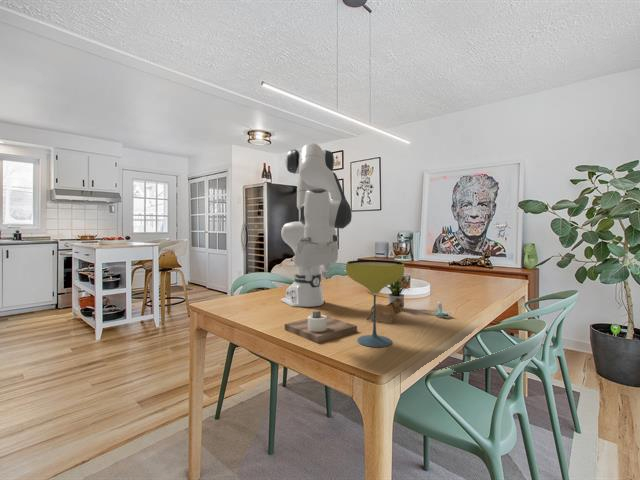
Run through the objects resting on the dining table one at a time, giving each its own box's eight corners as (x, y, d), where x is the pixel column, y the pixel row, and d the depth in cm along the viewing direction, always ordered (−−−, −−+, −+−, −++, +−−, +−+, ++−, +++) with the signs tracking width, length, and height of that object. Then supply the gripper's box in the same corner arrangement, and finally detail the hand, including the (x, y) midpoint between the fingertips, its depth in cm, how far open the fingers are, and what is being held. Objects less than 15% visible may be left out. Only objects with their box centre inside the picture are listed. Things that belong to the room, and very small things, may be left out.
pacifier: (447, 314, 137) (432, 314, 137) (447, 299, 137) (433, 299, 137) (453, 319, 130) (437, 318, 130) (453, 303, 129) (438, 303, 130)
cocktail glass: (414, 341, 104) (415, 262, 103) (382, 357, 91) (383, 267, 90) (368, 329, 117) (368, 258, 116) (334, 341, 104) (334, 262, 103)
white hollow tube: (304, 330, 109) (304, 317, 109) (313, 325, 114) (313, 313, 114) (321, 332, 106) (321, 319, 106) (330, 327, 111) (329, 314, 111)
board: (284, 329, 116) (284, 307, 116) (323, 320, 128) (323, 299, 127) (317, 343, 102) (317, 317, 102) (357, 331, 114) (357, 308, 113)
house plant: (413, 314, 136) (413, 275, 135) (379, 312, 140) (379, 274, 139) (413, 306, 149) (413, 271, 149) (382, 304, 153) (382, 270, 153)
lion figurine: (401, 318, 130) (401, 296, 129) (406, 322, 124) (406, 299, 124) (365, 319, 129) (365, 296, 128) (367, 323, 123) (368, 299, 123)
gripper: (305, 238, 99) (305, 284, 99) (341, 236, 115) (341, 275, 116) (289, 238, 102) (289, 282, 103) (326, 236, 119) (326, 274, 120)
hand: (317, 278), depth 110 cm, fingers open, 8 cm apart
